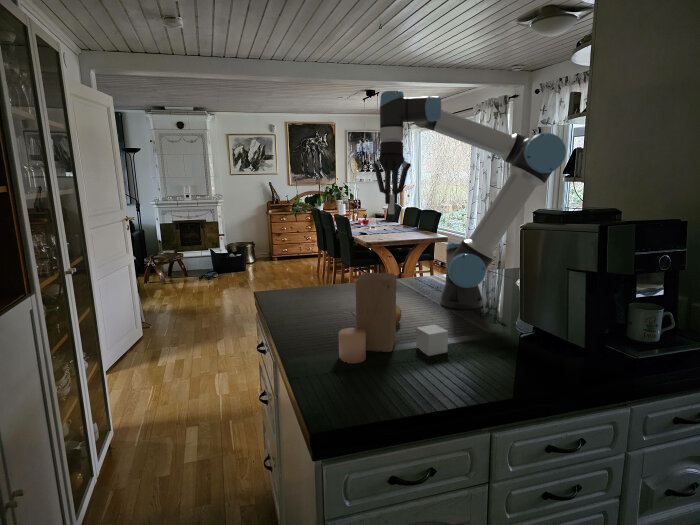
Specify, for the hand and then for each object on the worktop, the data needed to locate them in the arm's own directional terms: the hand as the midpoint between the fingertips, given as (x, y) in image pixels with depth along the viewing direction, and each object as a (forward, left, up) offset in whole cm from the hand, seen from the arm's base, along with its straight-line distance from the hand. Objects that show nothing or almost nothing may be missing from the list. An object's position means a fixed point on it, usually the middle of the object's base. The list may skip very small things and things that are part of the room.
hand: (391, 213), depth 146 cm
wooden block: (+12, +30, -35) cm, 47 cm away
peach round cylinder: (+20, +37, -35) cm, 54 cm away
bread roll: (+4, +11, -35) cm, 37 cm away
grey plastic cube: (-2, +36, -35) cm, 50 cm away
